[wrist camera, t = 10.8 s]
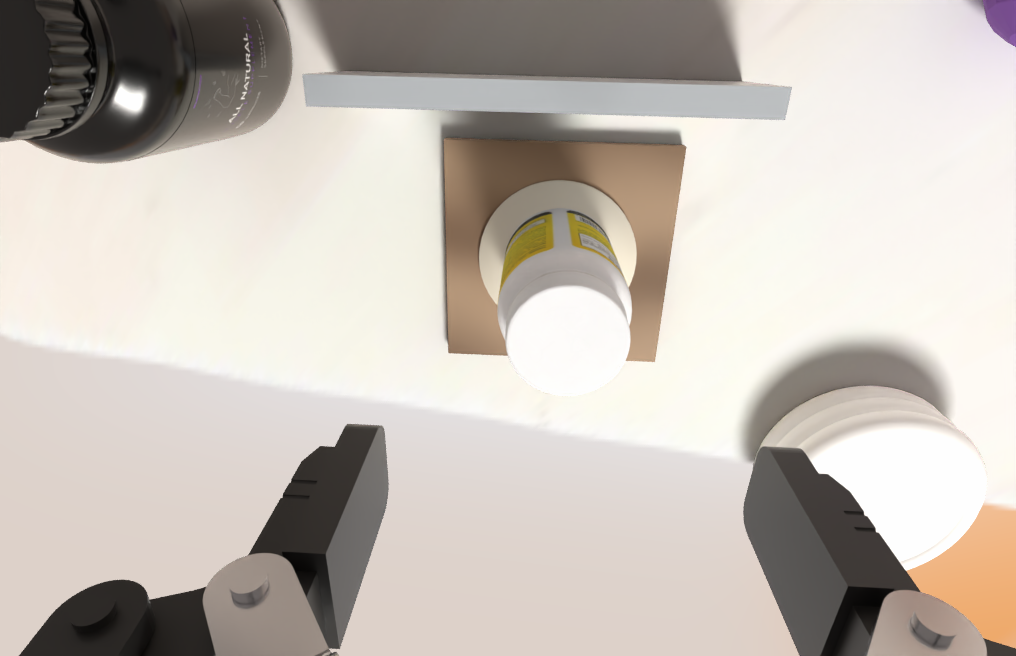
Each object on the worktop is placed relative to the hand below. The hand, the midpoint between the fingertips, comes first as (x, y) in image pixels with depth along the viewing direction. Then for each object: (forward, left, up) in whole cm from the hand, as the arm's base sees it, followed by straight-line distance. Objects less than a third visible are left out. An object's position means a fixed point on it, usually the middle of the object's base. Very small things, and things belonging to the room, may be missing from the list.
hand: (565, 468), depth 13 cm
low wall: (-7, -1, -16) cm, 17 cm away
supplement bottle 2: (0, 0, -15) cm, 15 cm away
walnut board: (0, 0, -16) cm, 16 cm away
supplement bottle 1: (-8, -14, -16) cm, 23 cm away
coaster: (+11, +16, -16) cm, 25 cm away
